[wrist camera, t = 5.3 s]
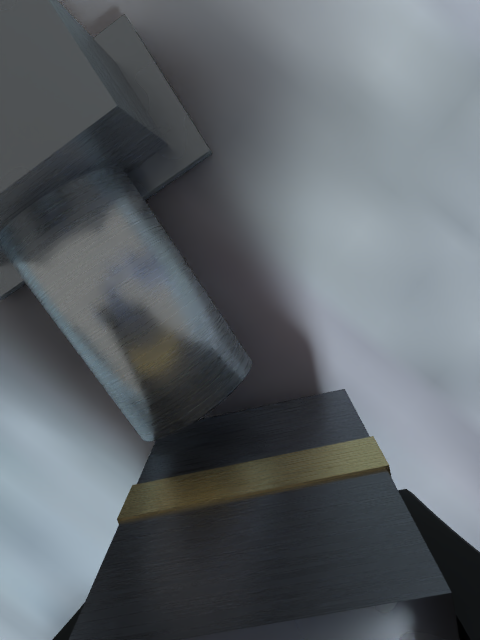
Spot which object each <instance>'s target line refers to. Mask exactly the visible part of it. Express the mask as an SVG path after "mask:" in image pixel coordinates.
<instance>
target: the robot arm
mask: <svg viewBox="0 0 480 640" xmlns="http://www.w3.org/2000/svg"><path fill="white" fill-rule="evenodd" d="M398 492H399V493H400V495H401V497H402V499H403V501H404V503H405V505H406V507H407V509H408V511H409V512H410V514H411V516H412V518H413V520H414V522H415V524H416V526H417V528H418V530H419V531H420V533H421V535H422V537H423V539H424V541H425V543H426V545H427V547H428V549H429V550H430V552H431V554H432V556H433V558H434V560H435V562H436V564H437V566H438V568H439V569H440V571H441V573H442V575H443V577H444V579H445V581H446V583H447V585H448V587H449V588H450V590H451V592H452V597H453V603H454V609H455V615H456V621H457V627H458V633H459V639H460V640H480V552H479V551H478V550H476V549H475V548H474V547H473V546H471V545H470V544H469V543H468V542H467V541H465V540H464V539H463V538H462V537H460V536H459V535H458V534H457V533H456V532H455V531H453V530H452V529H451V528H450V527H449V526H448V525H446V524H445V523H444V522H443V521H442V520H441V519H440V518H438V517H437V516H436V515H435V514H434V513H433V512H432V511H431V510H430V509H429V508H427V507H426V506H425V505H424V504H423V503H422V502H421V501H420V500H419V499H418V498H417V497H416V496H415V495H414V494H413V493H411V492H410V491H408V490H407V489H403V490H398ZM84 604H85V603H84ZM84 604H83V605H82V606H81V608H80V609H79V610H78V611H77V612H76V614H75V615H74V616H73V617H72V618H71V619H70V621H69V622H68V623H67V624H66V625H65V626H64V627H63V628H62V630H61V631H60V632H59V633H58V634H57V635H56V636H55V637H54V639H53V640H69V638H70V635H71V633H72V631H73V629H74V626H75V624H76V622H77V620H78V617H79V615H80V613H81V610H82V608H83V606H84Z"/></svg>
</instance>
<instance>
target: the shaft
mask: <svg viewBox="0 0 480 640" xmlns="http://www.w3.org/2000/svg"><path fill="white" fill-rule="evenodd" d="M211 154H212V152H211V151H210V149H209V147H208V146H207V144H206V143H205V141H204V139H203V138H202V136H201V135H200V133H199V131H198V130H197V128H196V127H195V125H194V123H193V122H192V120H191V119H190V117H189V116H188V114H187V112H186V111H185V109H184V108H183V106H182V104H181V103H180V101H179V100H178V98H177V96H176V95H175V93H174V92H173V90H172V88H171V87H170V85H169V84H168V82H167V80H166V79H165V77H164V76H163V74H162V72H161V71H160V69H159V68H158V66H157V64H156V63H155V61H154V60H153V58H152V56H151V55H150V53H149V52H148V50H147V48H146V47H145V45H144V44H143V42H142V40H141V39H140V37H139V36H138V34H137V32H136V31H135V29H134V28H133V26H132V25H131V23H130V22H129V20H128V19H127V17H126V16H125V14H124V15H122V16H121V17H120V18H119V19H117V20H116V21H115V22H114V23H112V24H111V25H110V26H108V27H107V28H106V29H105V30H103V31H102V32H101V33H99V34H98V35H97V36H96V37H94V38H92V36H91V35H90V34H89V33H88V32H87V31H86V30H85V29H84V28H83V27H82V26H81V25H80V24H79V23H78V22H77V21H76V19H75V18H74V17H73V16H72V15H71V14H70V13H69V12H68V11H67V10H66V9H65V8H64V7H63V6H62V5H61V4H60V3H59V1H58V0H0V300H2V299H4V298H6V297H7V296H9V295H10V294H12V293H13V292H14V291H16V290H17V289H19V288H20V287H22V286H23V285H24V284H27V286H28V287H29V288H30V290H31V291H32V292H33V294H34V295H35V296H36V298H37V299H38V300H39V302H40V303H41V304H42V306H43V307H44V308H45V310H46V311H47V312H48V314H49V315H50V316H51V318H52V319H53V320H54V322H55V323H56V324H57V326H58V327H59V328H60V330H61V331H62V332H63V334H64V335H65V336H66V338H67V339H68V340H69V342H70V343H71V344H72V346H73V347H74V348H75V350H76V351H77V352H78V354H79V355H80V356H81V358H82V359H83V360H84V362H85V363H86V364H87V366H88V367H89V368H90V370H91V371H92V372H93V374H94V375H95V376H96V378H97V379H98V380H99V382H100V383H101V384H102V386H103V387H104V388H105V390H106V391H107V392H108V394H109V395H110V396H111V398H112V399H113V400H114V402H115V403H116V404H117V406H118V407H119V408H120V410H121V411H122V412H123V414H124V415H125V416H126V418H127V419H128V421H129V422H130V423H131V425H132V426H133V427H134V429H135V430H136V431H137V433H138V434H139V435H140V437H141V438H142V439H143V440H144V441H155V440H159V439H162V438H165V437H167V436H170V435H172V434H174V433H176V432H178V431H180V430H181V429H183V428H185V427H187V426H188V425H190V424H192V423H193V422H195V421H196V420H198V419H199V418H201V417H202V416H204V415H205V414H206V413H208V412H209V411H211V410H212V409H213V408H214V407H216V406H217V405H218V404H219V403H221V402H222V401H223V400H224V399H225V398H226V397H227V396H228V395H229V394H231V393H232V392H233V391H234V390H235V389H236V388H237V387H238V385H239V384H240V383H241V382H242V381H243V380H244V378H245V377H246V376H247V374H248V372H249V371H250V368H251V365H252V361H251V359H250V358H249V356H248V355H247V353H246V352H245V350H244V349H243V347H242V346H241V344H240V343H239V341H238V340H237V338H236V337H235V335H234V334H233V332H232V331H231V329H230V328H229V326H228V325H227V323H226V322H225V320H224V319H223V317H222V316H221V314H220V313H219V311H218V310H217V308H216V307H215V305H214V304H213V302H212V301H211V299H210V298H209V296H208V295H207V293H206V292H205V290H204V289H203V287H202V286H201V284H200V283H199V282H198V280H197V279H196V277H195V276H194V274H193V273H192V271H191V270H190V268H189V267H188V265H187V264H186V262H185V261H184V259H183V258H182V256H181V255H180V253H179V252H178V250H177V249H176V247H175V246H174V244H173V243H172V241H171V240H170V238H169V237H168V235H167V234H166V232H165V231H164V229H163V228H162V226H161V225H160V223H159V222H158V220H157V219H156V217H155V216H154V214H153V213H152V211H151V210H150V208H149V207H148V205H147V204H146V202H145V200H146V199H148V198H149V197H151V196H152V195H154V194H155V193H156V192H158V191H159V190H161V189H162V188H164V187H165V186H166V185H168V184H169V183H171V182H172V181H174V180H175V179H177V178H178V177H179V176H181V175H182V174H184V173H185V172H187V171H188V170H189V169H191V168H192V167H194V166H195V165H197V164H198V163H199V162H201V161H202V160H204V159H205V158H207V157H208V156H210V155H211Z"/></svg>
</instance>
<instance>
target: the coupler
mask: <svg viewBox="0 0 480 640" xmlns="http://www.w3.org/2000/svg"><path fill="white" fill-rule="evenodd" d="M117 520H118V523H119V526H118V528H117V531H116V533H115V535H114V537H113V540H112V542H111V544H110V547H109V549H108V551H107V553H106V556H105V558H104V560H103V563H102V565H101V567H100V569H99V572H98V574H97V576H96V578H95V581H94V583H93V585H92V588H91V590H90V592H89V594H88V597H87V599H86V601H85V604H84V606H83V608H82V610H81V613H80V615H79V617H78V620H77V622H76V624H75V626H74V629H73V631H72V633H71V635H70V638H69V640H460V639H459V633H458V627H457V621H456V615H455V609H454V603H453V597H452V592H451V590H450V588H449V587H448V585H447V583H446V581H445V579H444V577H443V575H442V573H441V571H440V569H439V568H438V566H437V564H436V562H435V560H434V558H433V556H432V554H431V552H430V550H429V549H428V547H427V545H426V543H425V541H424V539H423V537H422V535H421V533H420V531H419V530H418V528H417V526H416V524H415V522H414V520H413V518H412V516H411V514H410V512H409V511H408V509H407V507H406V505H405V503H404V501H403V499H402V497H401V495H400V493H399V492H398V490H397V488H396V486H395V484H394V482H393V480H392V478H391V473H390V468H389V464H388V462H387V461H386V459H385V457H384V455H383V453H382V451H381V450H380V448H379V446H378V444H377V442H376V440H375V439H374V437H373V436H372V437H370V436H369V435H368V433H367V431H366V429H365V427H364V425H363V423H362V421H361V419H360V417H359V416H358V414H357V412H356V410H355V408H354V406H353V404H352V402H351V400H350V398H349V397H348V395H347V393H346V391H345V389H342V390H338V391H333V392H328V393H323V394H319V395H314V396H309V397H305V398H300V399H295V400H291V401H286V402H281V403H276V404H272V405H267V406H262V407H258V408H253V409H248V410H244V411H239V412H234V413H229V414H225V415H220V416H215V417H211V418H206V419H201V420H197V421H195V422H193V423H192V424H190V425H188V426H187V427H185V428H183V429H181V430H180V431H178V432H176V433H174V434H172V435H170V436H167V437H165V438H162V439H159V440H156V442H155V444H154V446H153V449H152V451H151V453H150V455H149V458H148V460H147V462H146V465H145V467H144V469H143V471H142V474H141V476H140V478H139V481H138V483H137V484H136V485H132V487H131V489H130V492H129V494H128V496H127V498H126V500H125V503H124V505H123V507H122V509H121V511H120V514H119V516H118V518H117Z"/></svg>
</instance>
